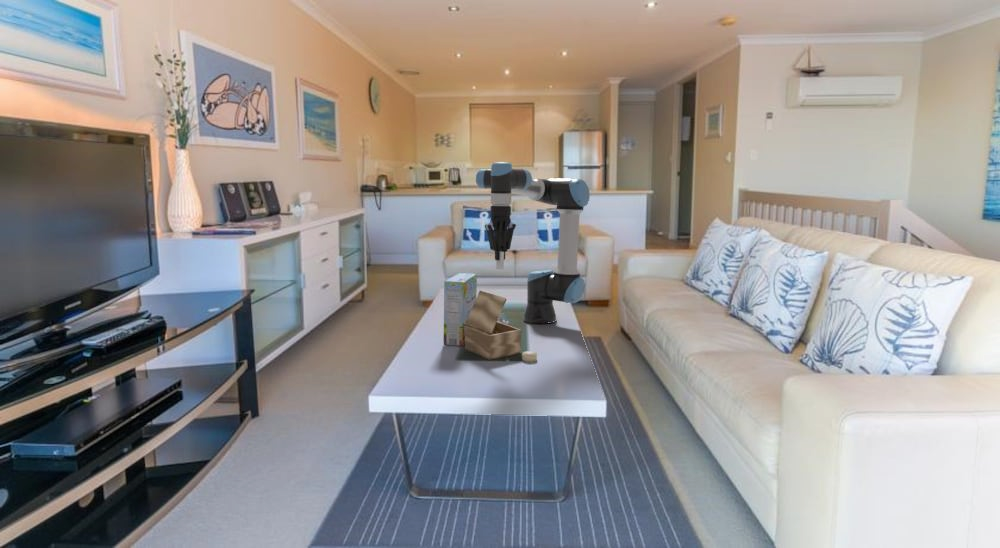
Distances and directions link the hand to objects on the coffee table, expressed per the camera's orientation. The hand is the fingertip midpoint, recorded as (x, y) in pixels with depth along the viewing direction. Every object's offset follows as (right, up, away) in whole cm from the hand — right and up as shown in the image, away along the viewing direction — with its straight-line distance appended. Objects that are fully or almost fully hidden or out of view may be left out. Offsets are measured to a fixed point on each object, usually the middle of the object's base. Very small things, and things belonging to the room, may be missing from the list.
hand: (499, 268), depth 212 cm
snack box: (-16, -29, +20) cm, 38 cm away
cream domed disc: (+11, -33, -6) cm, 35 cm away
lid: (-5, -16, -1) cm, 17 cm away
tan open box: (-3, -31, +4) cm, 32 cm away
